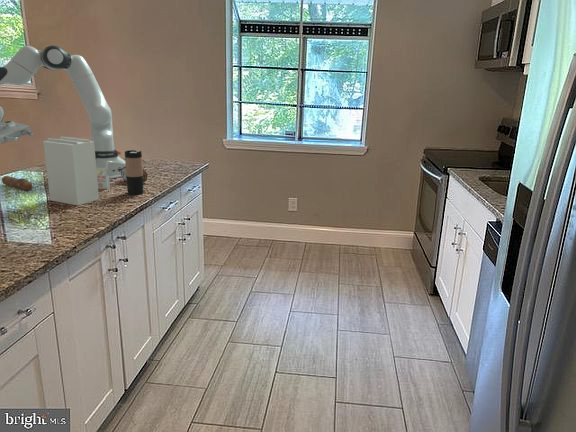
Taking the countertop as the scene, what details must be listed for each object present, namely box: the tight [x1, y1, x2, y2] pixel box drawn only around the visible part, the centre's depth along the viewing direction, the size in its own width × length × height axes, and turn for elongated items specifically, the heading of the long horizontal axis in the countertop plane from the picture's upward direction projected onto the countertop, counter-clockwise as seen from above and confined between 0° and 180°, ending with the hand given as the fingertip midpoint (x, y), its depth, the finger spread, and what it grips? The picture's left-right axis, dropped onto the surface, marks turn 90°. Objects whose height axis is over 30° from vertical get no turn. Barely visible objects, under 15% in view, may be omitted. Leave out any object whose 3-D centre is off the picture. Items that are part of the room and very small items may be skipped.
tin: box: [121, 167, 148, 184], centre depth 232 cm, size 15×3×8 cm, turn 71°
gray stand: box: [42, 136, 100, 206], centre depth 194 cm, size 16×12×27 cm
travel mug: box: [124, 149, 144, 196], centre depth 211 cm, size 8×8×20 cm
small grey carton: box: [96, 168, 111, 191], centre depth 218 cm, size 4×7×10 cm, turn 92°
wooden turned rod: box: [1, 175, 33, 192], centre depth 212 cm, size 20×5×5 cm, turn 59°
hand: (24, 136), depth 206 cm, fingers open, 8 cm apart
